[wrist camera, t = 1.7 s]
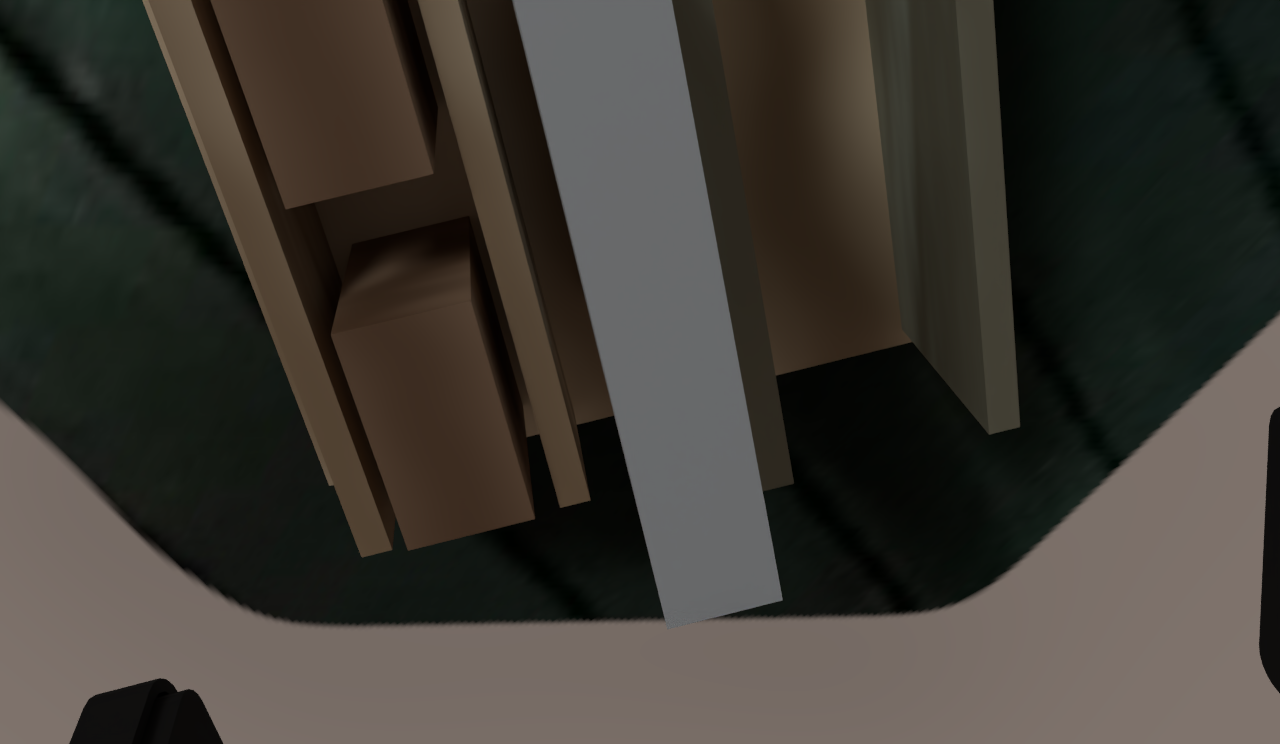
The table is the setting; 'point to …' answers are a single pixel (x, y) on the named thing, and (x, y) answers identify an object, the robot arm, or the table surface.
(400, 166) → the offcut
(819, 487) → the table surface
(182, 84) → the rack
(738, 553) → the sheet
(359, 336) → the offcut
